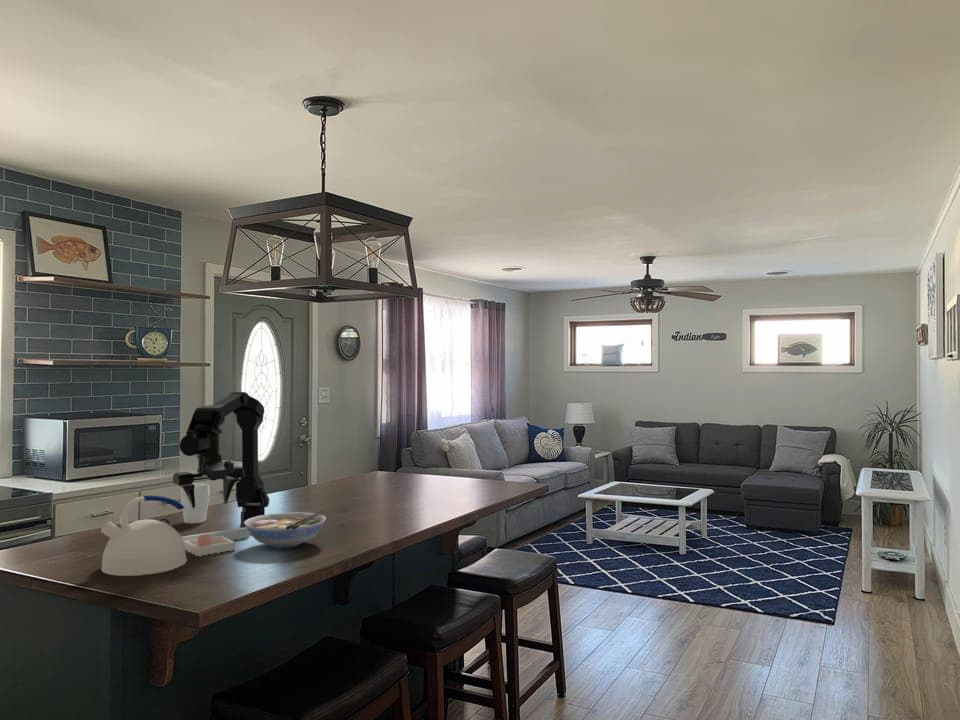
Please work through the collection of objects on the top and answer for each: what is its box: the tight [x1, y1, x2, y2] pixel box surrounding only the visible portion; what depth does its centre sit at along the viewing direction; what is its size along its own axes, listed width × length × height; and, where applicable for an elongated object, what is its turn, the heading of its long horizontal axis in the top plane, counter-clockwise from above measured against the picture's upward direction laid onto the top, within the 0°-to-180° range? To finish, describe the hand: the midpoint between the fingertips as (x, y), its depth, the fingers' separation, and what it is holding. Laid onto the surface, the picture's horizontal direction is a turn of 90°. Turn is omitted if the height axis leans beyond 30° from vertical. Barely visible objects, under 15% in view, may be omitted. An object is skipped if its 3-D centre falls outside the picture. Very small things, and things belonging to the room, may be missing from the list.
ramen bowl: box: [244, 510, 327, 549], centre depth 215 cm, size 25×23×8 cm
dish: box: [184, 536, 236, 557], centre depth 210 cm, size 10×10×2 cm
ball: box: [197, 533, 212, 547], centre depth 210 cm, size 4×4×4 cm
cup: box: [179, 482, 211, 525], centre depth 249 cm, size 9×9×12 cm
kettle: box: [100, 495, 188, 577], centre depth 195 cm, size 20×21×18 cm
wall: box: [181, 527, 250, 542], centre depth 219 cm, size 20×1×3 cm, turn 130°
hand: (209, 505), depth 216 cm, fingers open, 9 cm apart
